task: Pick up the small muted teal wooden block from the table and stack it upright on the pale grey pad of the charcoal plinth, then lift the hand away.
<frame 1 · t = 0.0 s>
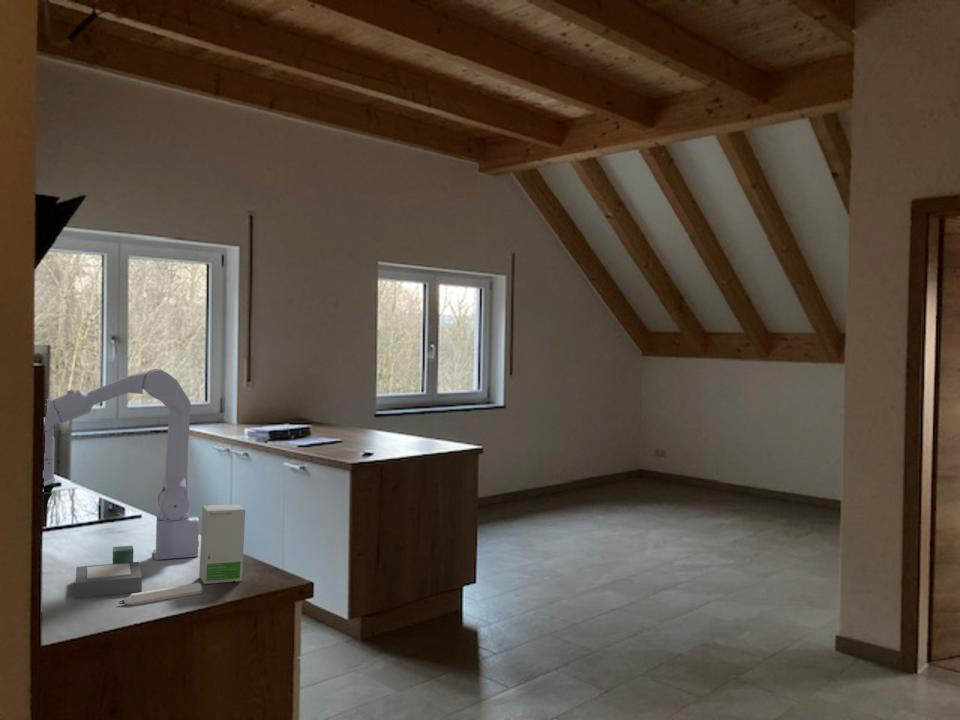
hand: (38, 520, 177), 10 cm above the countertop, fingers open, 7 cm apart
marker: (159, 601, 158), on the countertop
skincare box: (221, 579, 172), on the countertop
charcoal plinth: (108, 586, 164), on the countertop
teal block: (122, 571, 175), on the countertop
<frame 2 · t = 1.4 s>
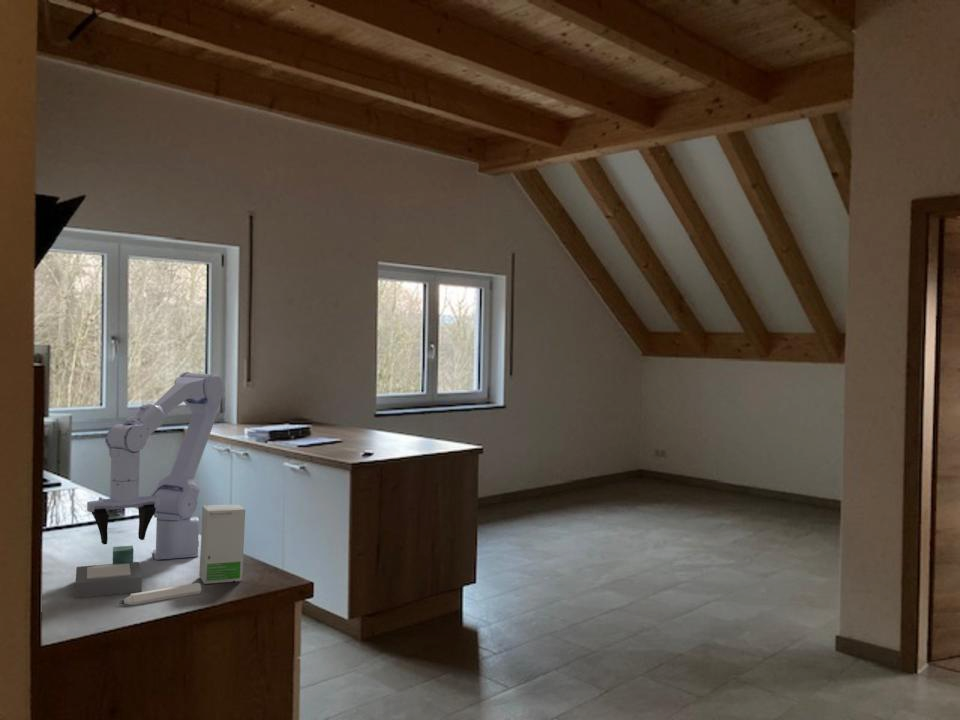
hand: (123, 541, 175), 7 cm above the countertop, fingers open, 7 cm apart
nothing on the countertop moved.
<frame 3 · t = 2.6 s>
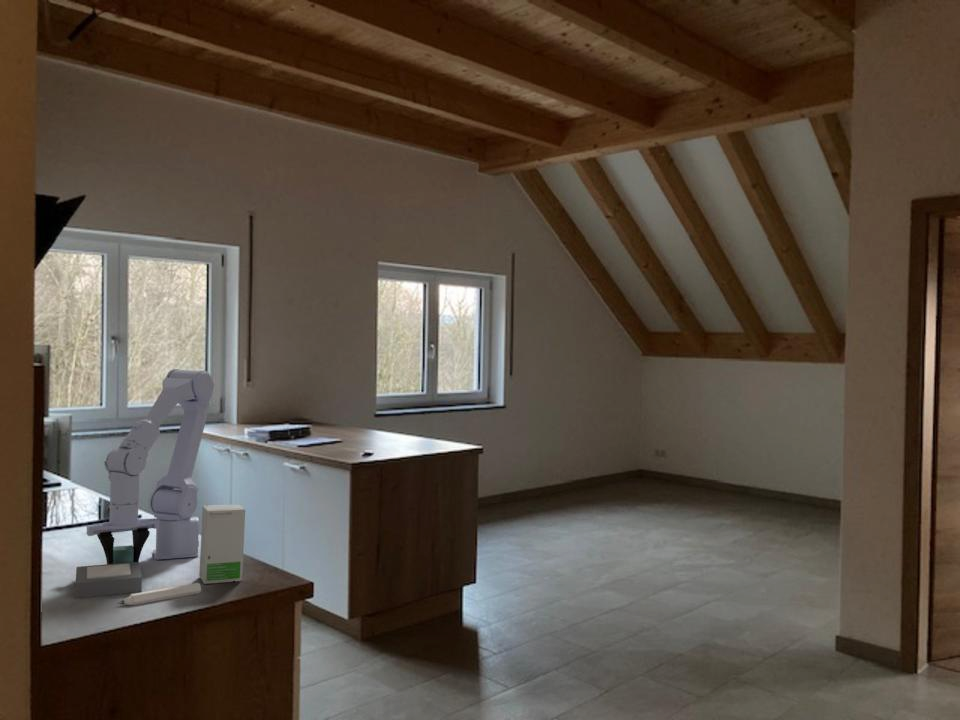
hand: (122, 564, 175), 1 cm above the countertop, fingers closed on teal block, 5 cm apart
teal block: (122, 570, 175), on the countertop, touching gripper
everything else where it was.
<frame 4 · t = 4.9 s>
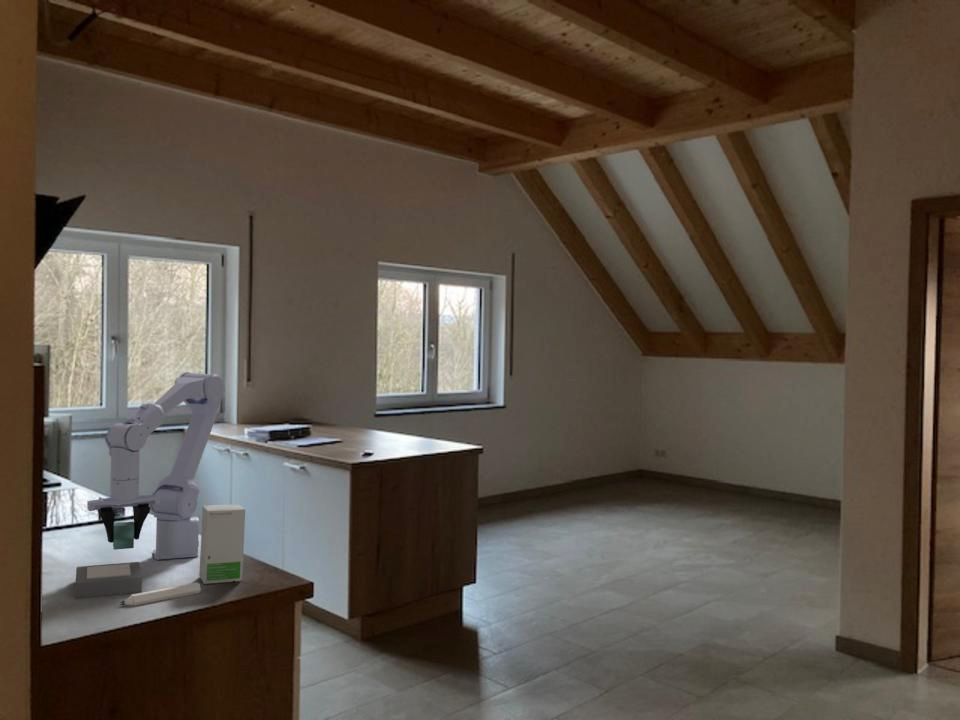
hand: (123, 540, 175), 7 cm above the countertop, fingers closed on teal block, 5 cm apart
teal block: (123, 546, 175), point 5 cm above the countertop, touching gripper
everything else where it was.
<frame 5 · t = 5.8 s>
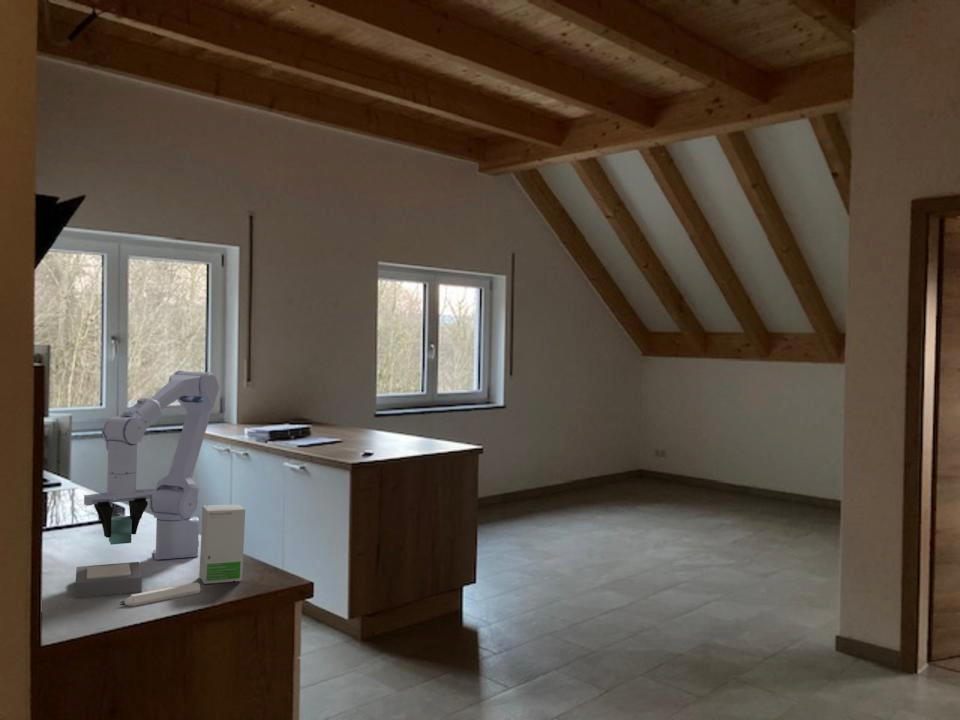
hand: (120, 535, 173), 8 cm above the countertop, fingers closed on teal block, 5 cm apart
teal block: (120, 541, 173), point 7 cm above the countertop, touching gripper
everything else where it was.
when the fingers open (5 cm above the countertop, at t = 8.1 s): teal block stays where it is, resting on charcoal plinth.
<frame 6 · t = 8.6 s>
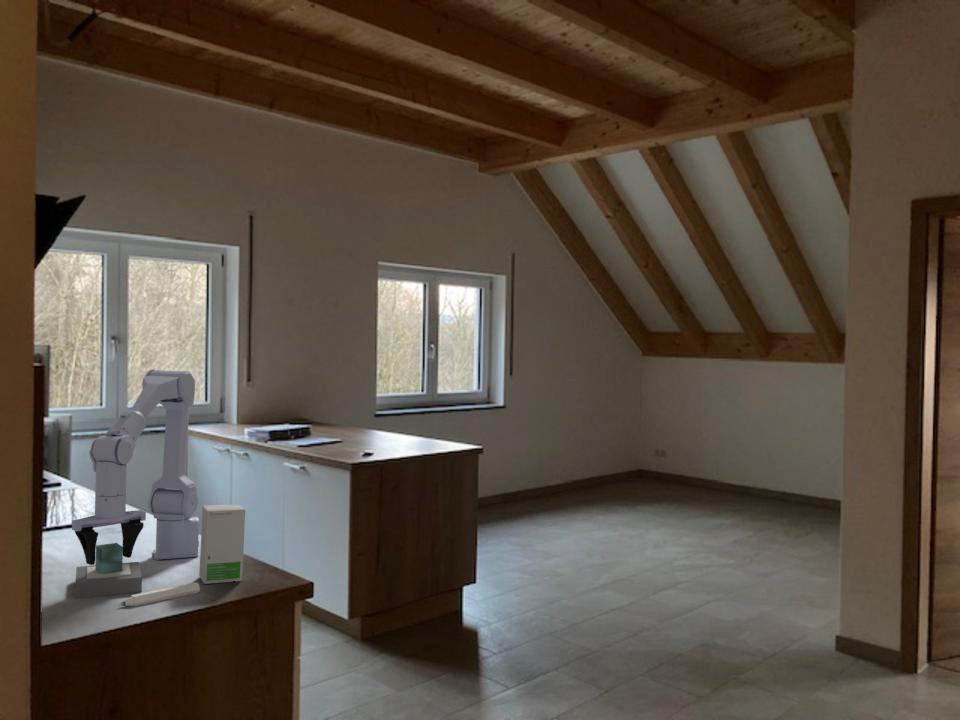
hand: (109, 560, 164), 5 cm above the countertop, fingers open, 7 cm apart
teal block: (108, 570, 164), point 3 cm above the countertop, touching charcoal plinth
everything else where it was.
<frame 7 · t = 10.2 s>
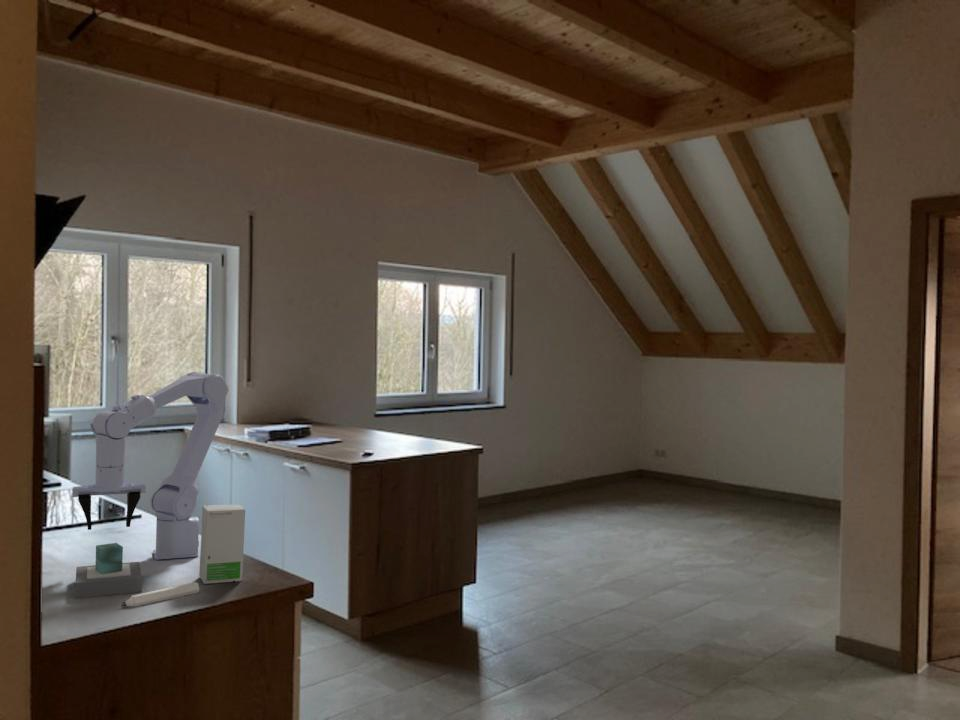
hand: (108, 527, 176), 9 cm above the countertop, fingers open, 7 cm apart
nothing on the countertop moved.
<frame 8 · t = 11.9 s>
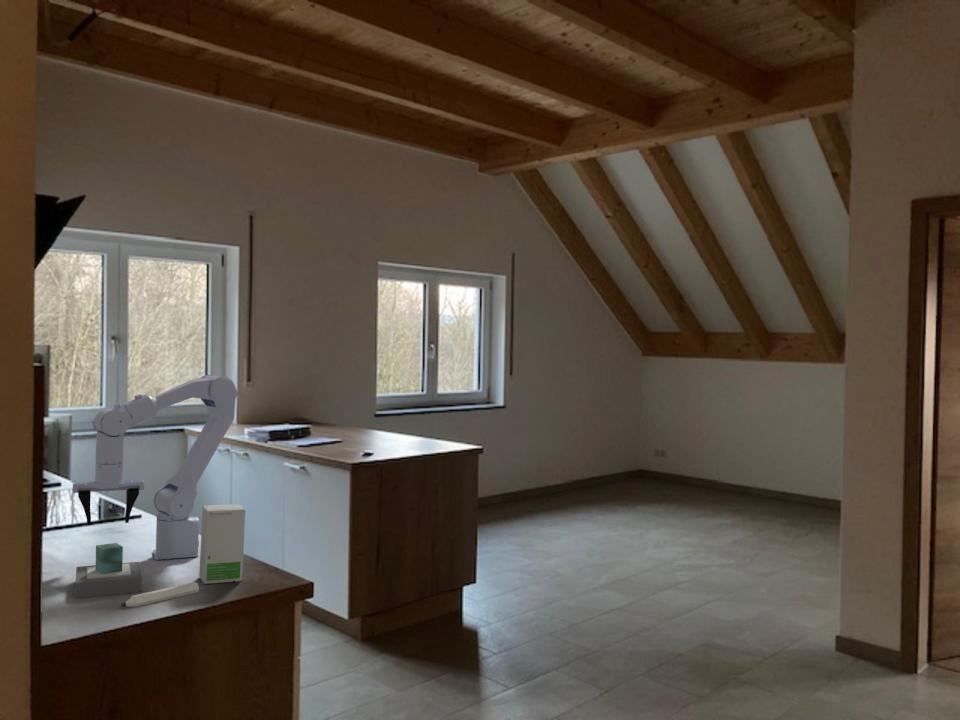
hand: (108, 523, 179), 9 cm above the countertop, fingers open, 7 cm apart
nothing on the countertop moved.
at the end: teal block 0.0 cm off-centre on the charcoal plinth, point 3.3 cm above the charcoal plinth's base; teal block tilted 0°; the gripper is holding nothing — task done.
